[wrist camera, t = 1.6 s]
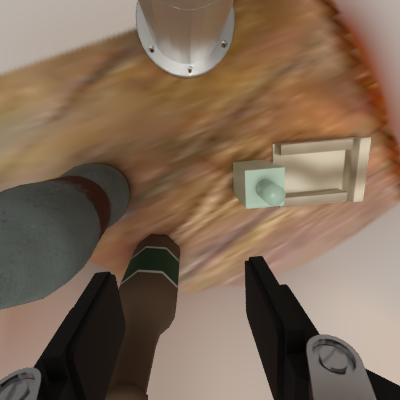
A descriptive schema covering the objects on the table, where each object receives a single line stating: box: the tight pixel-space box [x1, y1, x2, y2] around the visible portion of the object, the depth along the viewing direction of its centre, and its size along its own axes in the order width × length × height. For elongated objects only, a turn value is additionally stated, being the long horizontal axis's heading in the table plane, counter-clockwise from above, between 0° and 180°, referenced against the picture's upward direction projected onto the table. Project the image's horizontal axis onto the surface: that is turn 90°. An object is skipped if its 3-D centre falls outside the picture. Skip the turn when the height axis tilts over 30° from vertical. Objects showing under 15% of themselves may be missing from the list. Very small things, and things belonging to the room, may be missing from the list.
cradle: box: [272, 137, 371, 208], centre depth 36 cm, size 10×13×3 cm
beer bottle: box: [105, 235, 180, 400], centre depth 29 cm, size 8×8×24 cm
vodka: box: [0, 163, 130, 310], centre depth 22 cm, size 9×9×30 cm
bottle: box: [233, 159, 285, 209], centre depth 32 cm, size 5×5×12 cm
